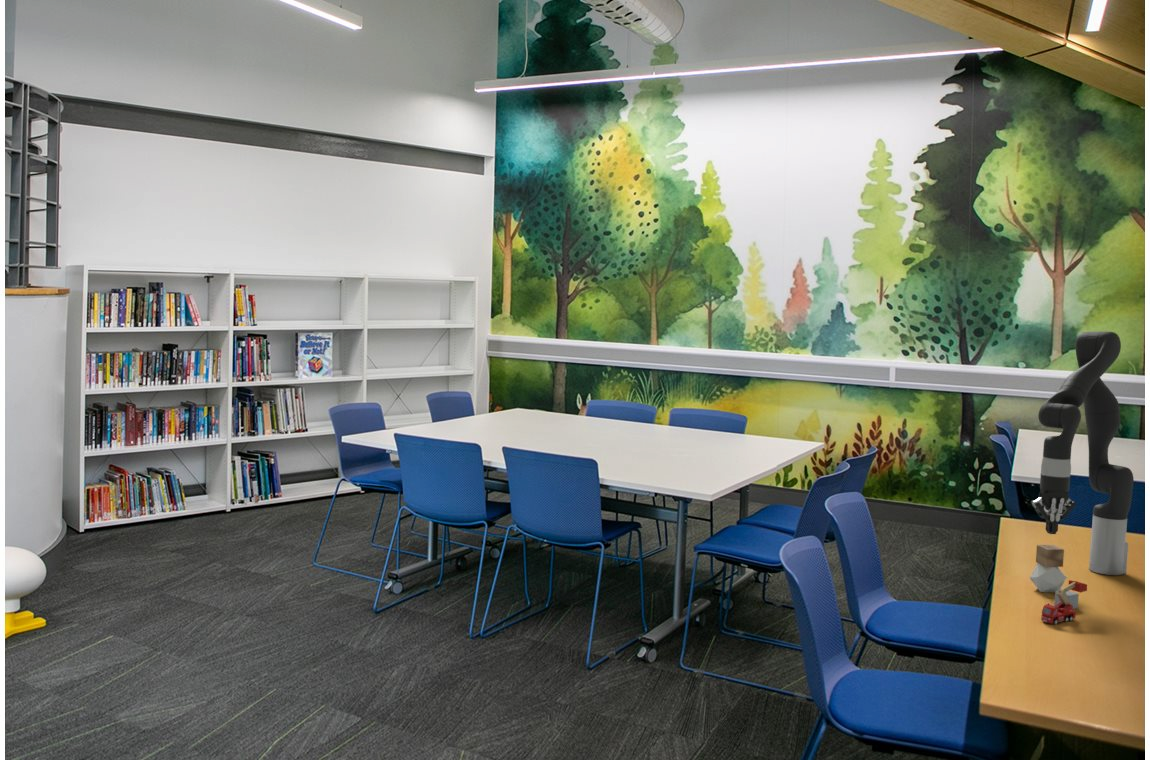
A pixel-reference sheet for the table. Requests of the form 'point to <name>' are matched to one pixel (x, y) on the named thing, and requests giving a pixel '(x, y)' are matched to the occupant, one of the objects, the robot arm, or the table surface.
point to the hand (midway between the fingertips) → (1051, 533)
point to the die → (1047, 578)
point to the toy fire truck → (1062, 605)
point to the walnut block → (1049, 555)
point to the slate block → (1072, 599)
